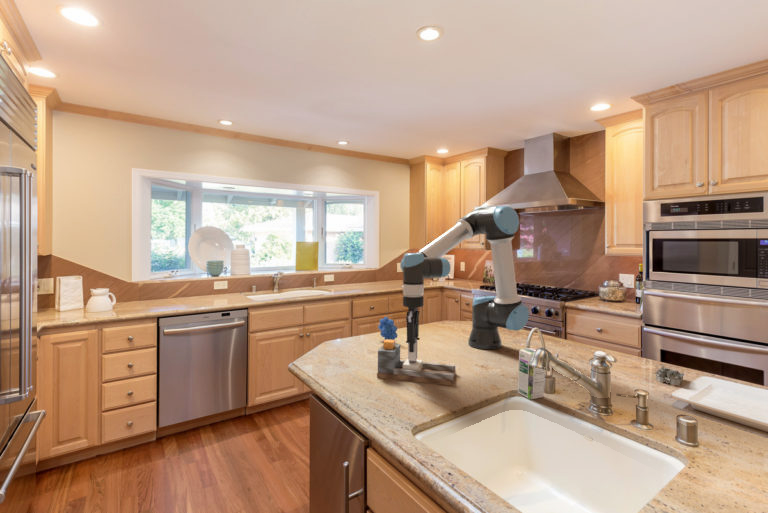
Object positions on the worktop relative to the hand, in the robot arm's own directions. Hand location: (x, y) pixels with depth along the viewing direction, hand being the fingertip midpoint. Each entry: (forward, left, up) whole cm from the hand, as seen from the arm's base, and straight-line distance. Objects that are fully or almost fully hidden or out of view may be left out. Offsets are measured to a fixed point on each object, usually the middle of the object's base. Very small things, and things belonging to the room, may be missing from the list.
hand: (412, 358), depth 138 cm
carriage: (0, 0, -4) cm, 4 cm away
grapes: (+21, -40, -6) cm, 46 cm away
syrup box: (-40, +7, -6) cm, 41 cm away
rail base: (-2, 0, -6) cm, 6 cm away
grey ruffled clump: (-89, -20, -7) cm, 92 cm away
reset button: (+9, 0, +3) cm, 9 cm away
